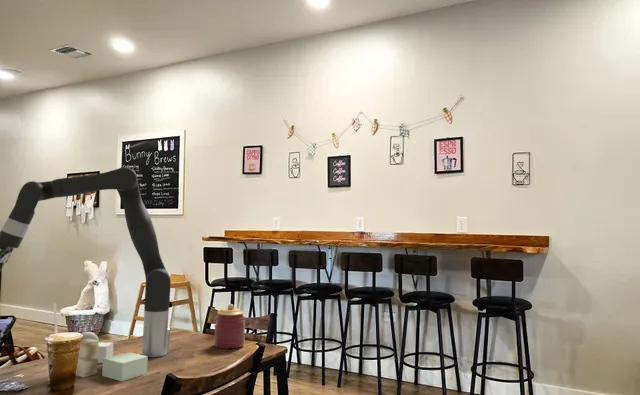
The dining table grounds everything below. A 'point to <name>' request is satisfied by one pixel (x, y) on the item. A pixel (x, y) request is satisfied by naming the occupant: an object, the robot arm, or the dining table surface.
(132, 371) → the sage box
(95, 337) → the donut
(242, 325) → the canister
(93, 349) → the birch block
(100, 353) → the white cube
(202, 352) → the dining table surface
